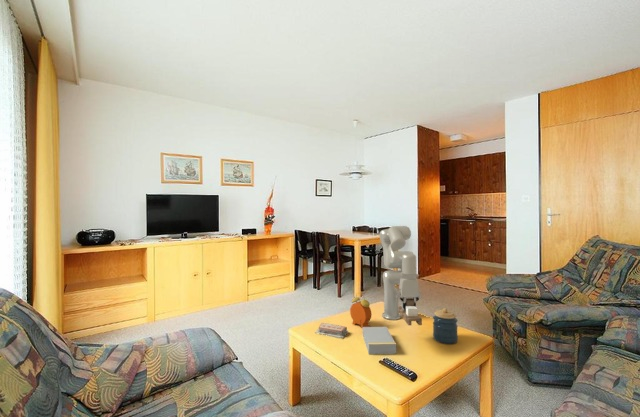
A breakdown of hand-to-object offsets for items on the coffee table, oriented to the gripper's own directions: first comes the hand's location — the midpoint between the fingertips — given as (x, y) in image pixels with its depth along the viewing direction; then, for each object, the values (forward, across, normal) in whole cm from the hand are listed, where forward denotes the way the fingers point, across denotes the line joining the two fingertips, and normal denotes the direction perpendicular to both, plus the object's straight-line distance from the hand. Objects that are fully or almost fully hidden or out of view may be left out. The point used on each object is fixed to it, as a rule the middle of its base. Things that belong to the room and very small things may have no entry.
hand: (409, 309), depth 162 cm
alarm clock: (+19, +23, -26) cm, 40 cm away
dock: (+19, +17, 0) cm, 26 cm away
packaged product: (+20, +42, -15) cm, 49 cm away
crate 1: (+2, 0, -4) cm, 4 cm away
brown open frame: (+5, 0, 0) cm, 5 cm away
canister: (+19, -22, -4) cm, 29 cm away
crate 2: (+2, 0, +4) cm, 4 cm away
